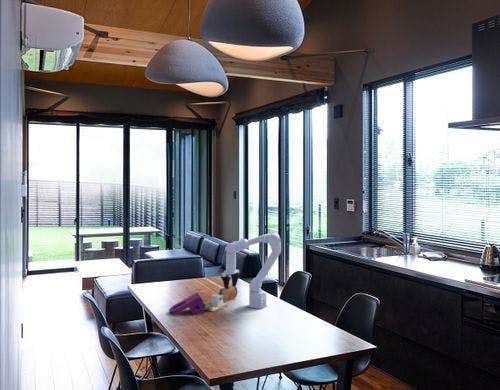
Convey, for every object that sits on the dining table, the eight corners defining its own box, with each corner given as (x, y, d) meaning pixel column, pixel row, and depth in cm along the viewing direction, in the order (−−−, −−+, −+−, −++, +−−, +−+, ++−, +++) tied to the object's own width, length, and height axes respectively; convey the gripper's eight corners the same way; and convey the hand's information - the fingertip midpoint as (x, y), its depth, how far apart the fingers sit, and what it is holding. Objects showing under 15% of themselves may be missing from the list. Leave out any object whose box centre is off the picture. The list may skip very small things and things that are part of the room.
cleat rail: (227, 305, 267) (227, 300, 267) (212, 311, 255) (212, 305, 255) (218, 303, 270) (218, 298, 270) (203, 309, 258) (203, 303, 258)
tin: (221, 303, 272) (221, 289, 272) (217, 302, 274) (217, 288, 274) (237, 298, 284) (237, 284, 284) (233, 297, 286) (233, 284, 286)
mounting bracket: (177, 326, 246) (207, 309, 251) (170, 313, 245) (200, 296, 249) (174, 321, 255) (203, 305, 260) (168, 308, 254) (197, 292, 258)
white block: (224, 305, 262) (224, 295, 262) (219, 306, 258) (219, 297, 258) (216, 303, 265) (216, 294, 265) (211, 305, 261) (211, 295, 261)
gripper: (232, 261, 275) (231, 284, 276) (217, 264, 263) (217, 288, 264) (242, 262, 272) (241, 285, 272) (227, 266, 259) (227, 290, 260)
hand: (230, 287), depth 268 cm, fingers open, 7 cm apart
